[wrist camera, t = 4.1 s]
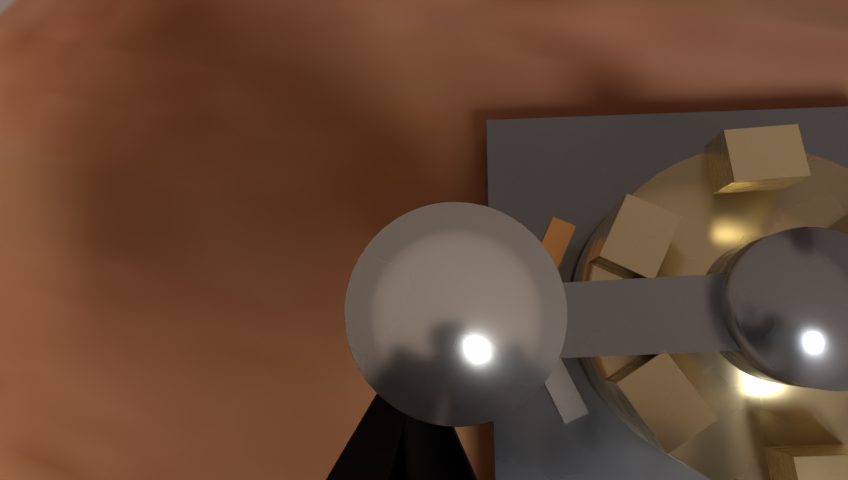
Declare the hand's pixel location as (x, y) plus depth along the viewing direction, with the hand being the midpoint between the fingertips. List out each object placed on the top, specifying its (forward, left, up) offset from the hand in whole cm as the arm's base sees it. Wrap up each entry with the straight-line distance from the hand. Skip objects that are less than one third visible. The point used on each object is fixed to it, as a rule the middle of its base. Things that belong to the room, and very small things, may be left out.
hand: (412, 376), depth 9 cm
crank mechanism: (+1, -7, -5) cm, 8 cm away
